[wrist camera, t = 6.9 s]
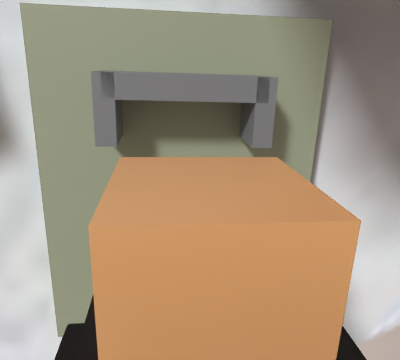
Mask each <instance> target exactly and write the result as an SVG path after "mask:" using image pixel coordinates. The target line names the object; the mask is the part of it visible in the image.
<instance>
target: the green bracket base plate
mask: <svg viewBox="0 0 400 360" xmlns="http://www.w3.org/2000/svg"><path fill="white" fill-rule="evenodd" d="M20 10H21V18H22V27H23V36H24V44H25V53H26V62H27V70H28V79H29V88H30V97H31V105H32V114H33V123H34V131H35V140H36V149H37V157H38V166H39V175H40V183H41V192H42V201H43V209H44V218H45V227H46V235H47V244H48V253H49V262H50V270H51V279H52V288H53V296H54V305H55V314H56V322H57V331H58V337H62V336H63V335H64V332H65V329H66V327H67V325H68V324H72V323H85V320H86V316H87V313H88V310H89V306H90V303H91V299H92V296H93V283H92V270H91V257H90V244H89V230H88V226H89V223H90V221H91V219H92V217H93V215H94V213H95V210H96V208H97V206H98V204H99V202H100V199H101V197H102V195H103V193H104V191H105V189H106V186H107V184H108V182H109V180H110V178H111V175H112V173H113V171H114V169H115V167H116V165H117V162H118V160H119V158H120V157H278V158H279V159H280V160H281V161H283V162H284V163H285V164H287V165H288V166H289V167H291V168H292V169H293V170H295V171H296V172H297V173H299V174H300V175H301V176H303V177H304V178H305V179H307V180H308V181H309V182H310V180H311V173H312V166H313V159H314V152H315V145H316V137H317V130H318V123H319V116H320V109H321V101H322V94H323V87H324V80H325V73H326V66H327V58H328V51H329V44H330V37H331V30H332V23H333V20H332V19H313V18H294V17H275V16H256V15H237V14H218V13H200V12H181V11H162V10H143V9H124V8H105V7H86V6H67V5H48V4H29V3H20Z"/></svg>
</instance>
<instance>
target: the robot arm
mask: <svg viewBox="0 0 400 360" xmlns="http://www.w3.org/2000/svg"><path fill="white" fill-rule="evenodd" d="M55 360H98V349H97V336H96V323H95V310H94V296H92V299H91V303H90V306H89V310H88V313H87V316H86V320H85V323H72V324H68V325H67V327H66V329H65V332H64V335H63V338H62V340H61V343H60V346H59V349H58V352H57V354H56V357H55ZM336 360H366V358H365V357H364V356H363V354H362V353H361V351H360V350H359V348H358V347H357V346H356V344H355V343H354V341H353V340H352V338H351V337H350V336H349V334H348V333H347V331H346V330H345V329H344V327H343V326H342V329H341V335H340V340H339V346H338V351H337V357H336Z"/></svg>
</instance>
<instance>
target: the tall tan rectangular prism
mask: <svg viewBox="0 0 400 360" xmlns="http://www.w3.org/2000/svg"><path fill="white" fill-rule="evenodd" d="M360 224H361V220H360V219H358V218H357V217H356V216H354V215H353V214H352V213H350V212H349V211H348V210H346V209H345V208H344V207H342V206H341V205H340V204H338V203H337V202H336V201H334V200H333V199H332V198H330V197H329V196H328V195H326V194H325V193H324V192H322V191H321V190H320V189H319V188H317V187H316V186H315V185H313V184H312V183H311V182H309V181H308V180H307V179H305V178H304V177H303V176H301V175H300V174H299V173H297V172H296V171H295V170H293V169H292V168H291V167H289V166H288V165H287V164H285V163H284V162H283V161H281V160H280V159H279V158H278V157H120V158H119V160H118V162H117V165H116V167H115V169H114V171H113V173H112V175H111V178H110V180H109V182H108V184H107V186H106V189H105V191H104V193H103V195H102V197H101V199H100V202H99V204H98V206H97V208H96V210H95V213H94V215H93V217H92V219H91V221H90V223H89V226H88V230H89V244H90V257H91V270H92V283H93V296H94V310H95V323H96V336H97V349H98V360H336V357H337V351H338V346H339V340H340V335H341V329H342V324H343V318H344V313H345V307H346V302H347V296H348V290H349V285H350V279H351V274H352V268H353V263H354V257H355V252H356V246H357V241H358V235H359V229H360Z"/></svg>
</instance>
